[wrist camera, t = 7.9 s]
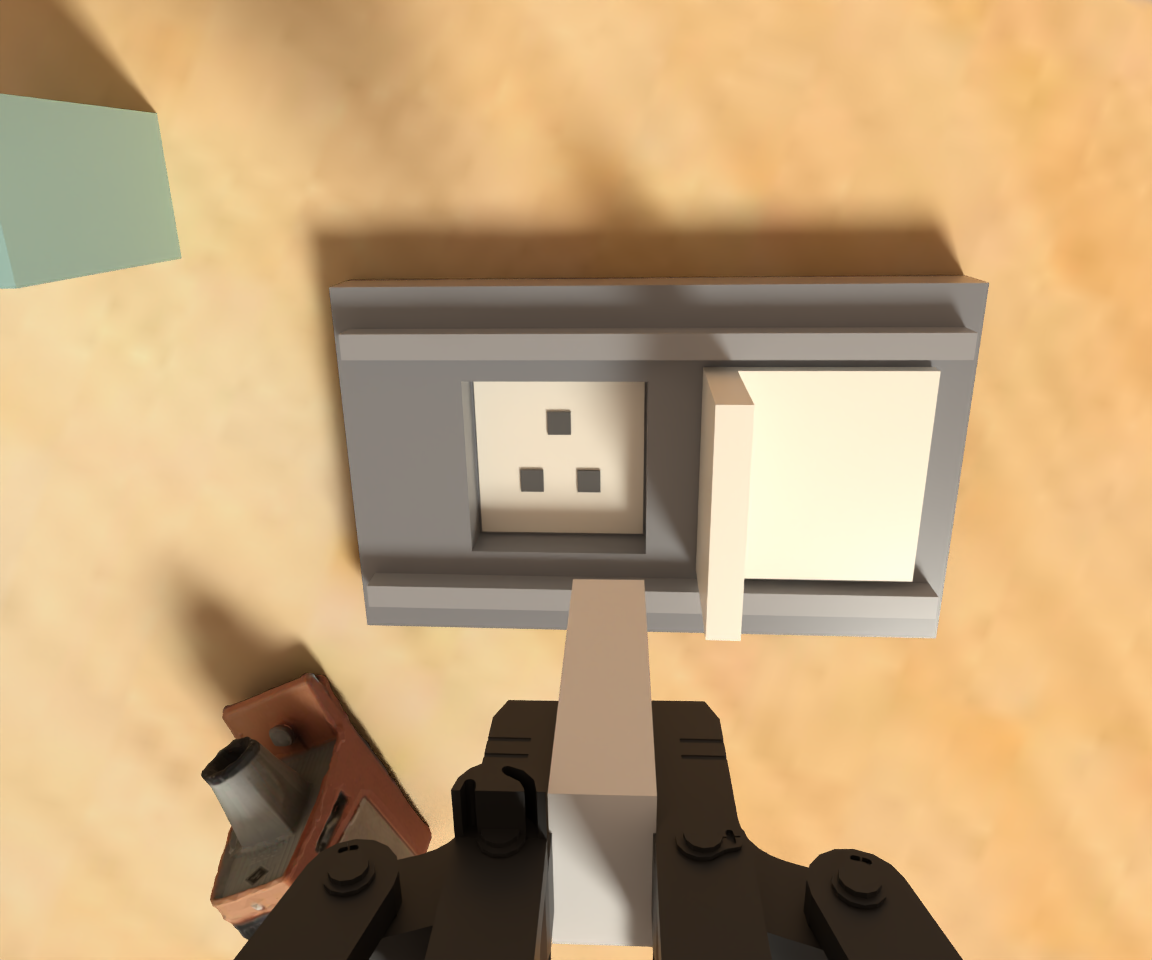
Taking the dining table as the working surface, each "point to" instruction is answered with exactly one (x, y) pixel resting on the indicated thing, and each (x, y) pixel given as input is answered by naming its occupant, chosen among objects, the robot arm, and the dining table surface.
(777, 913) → the robot arm
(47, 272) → the teal bottle
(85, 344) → the dining table surface
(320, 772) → the electronic device
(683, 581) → the socket board
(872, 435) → the shutter
